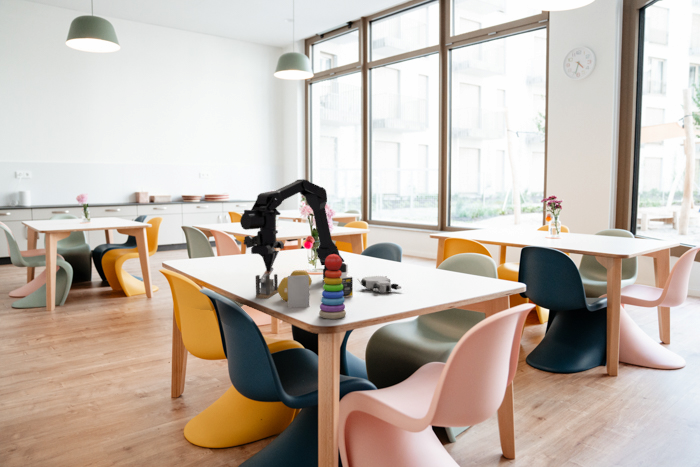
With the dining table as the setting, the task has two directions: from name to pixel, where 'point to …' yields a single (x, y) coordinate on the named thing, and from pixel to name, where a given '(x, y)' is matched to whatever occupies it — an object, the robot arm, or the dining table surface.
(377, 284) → the robot toy
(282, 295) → the dumbbell
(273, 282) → the grey and tan frame
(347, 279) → the medicine bottle
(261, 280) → the grey bar
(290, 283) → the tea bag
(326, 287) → the stacking toy
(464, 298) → the dining table surface
